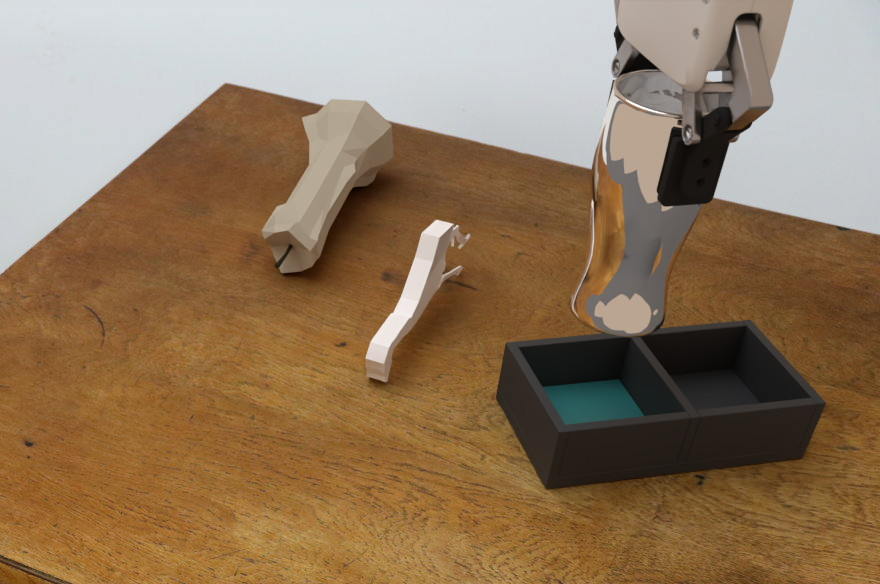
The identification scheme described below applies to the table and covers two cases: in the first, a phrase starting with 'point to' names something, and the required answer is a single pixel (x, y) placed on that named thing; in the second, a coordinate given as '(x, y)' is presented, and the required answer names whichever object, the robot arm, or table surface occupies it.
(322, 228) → the faceted club
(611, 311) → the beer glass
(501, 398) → the divided box
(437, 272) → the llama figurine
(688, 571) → the table surface
